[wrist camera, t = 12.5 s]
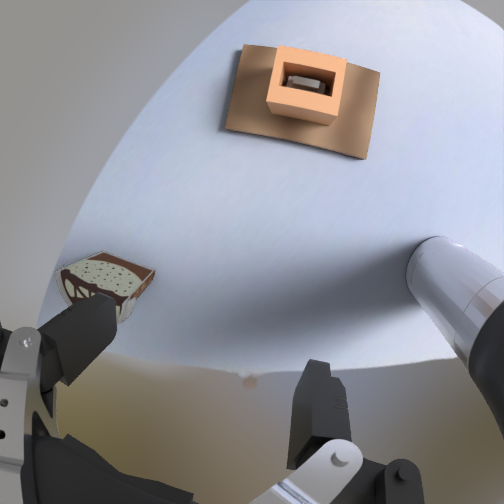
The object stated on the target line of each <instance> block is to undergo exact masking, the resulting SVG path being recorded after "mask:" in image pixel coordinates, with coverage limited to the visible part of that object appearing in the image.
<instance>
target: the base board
mask: <svg viewBox="0 0 504 504" xmlns="http://www.w3.org/2000/svg"><path fill="white" fill-rule="evenodd" d="M276 52H277V48H273V47H265V46H256V45H245V44H244V45H243V49H242V53H241V57H240V62H239V66H238V70H237V74H236V79H235V83H234V87H233V92H232V96H231V101H230V105H229V110H228V115H227V120H226V125H225V129H227V130H231V131H238V132H244V133H251V134H256V135H262V136H268V137H273V138H278V139H283V140H288V141H292V142H297V143H302V144H306V145H310V146H314V147H319V148H323V149H327V150H330V151H334V152H338V153H342V154H345V155H349V156H352V157H356V158H359V159H363V160H364V159H366V157H367V152H368V147H369V142H370V137H371V131H372V126H373V120H374V114H375V107H376V101H377V94H378V86H379V79H380V73H379V72H377V71H374V70H370V69H367V68H364V67H361V66H358V65H354V64H351V63H347V62H346V69H345V75H344V81H343V88H342V94H341V99H340V105H339V111H338V116H337V117H336V119H335V120H334V121H333V122H332V124H331V125H330V126H327V125H323V124H319V123H315V122H311V121H306V120H302V119H297V118H292V117H287V116H282V115H277V114H272V113H271V111H270V108H269V106H268V104H267V102H266V99H267V95H268V90H269V85H270V80H271V76H272V71H273V66H274V62H275V57H276ZM285 87H289V88H294V89H299V90H304V91H309V92H313V93H318V94H322V95H326V96H328V91H329V89H325V83H322V82H320V81H318V80H313V79H308V78H304V77H299V76H294V77H293V76H289V78H288V81H286V83H285Z"/></svg>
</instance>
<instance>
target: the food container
mask: <svg viewBox="0 0 504 504" xmlns="http://www.w3.org/2000/svg"><path fill="white" fill-rule="evenodd" d="M55 273H56V280H57V284H58V287H59V290H60V292H61V295H62V297H63V299H64V300H65V302H66V304H67V305H68V307H69V306H71V305H72V304H74V303H75V302H78V301H81V300H84V299H88V298H90V297H91V296H93V295H94V294H96V293H97V292H100V293H103V294H105V295H108V296H110V297H112V298H114V299H115V301H116V320H117V324H119V323H121V322H123V321H125V320H126V319H127V318H128V317H129V316H130V315H131V313H132V311H133V309H134V305H135V300H136V299H137V298H138V297H139V296H140V295H141V293H142V292H143V291H144V290H145V289H146V288H147V286H148V285H149V284H150V283H151V281H152V280H153V277H154V274H155V270H154V269H152V268H149V267H146V266H143V265H141V264H138V263H135V262H132V261H130V260H127V259H124V258H122V257H119V256H116V255H114V254H111V253H109V252H106V251H102V252H99V253H97V254H95V255H92V256H90V257H87V258H85V259H82V260H80V261H78V262H75V263H73V264H71V265H68V266H66V267H64V265H62V266H61V267H59V268H58V269H57V271H55Z"/></svg>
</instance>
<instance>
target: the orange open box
mask: <svg viewBox="0 0 504 504" xmlns="http://www.w3.org/2000/svg"><path fill="white" fill-rule="evenodd" d="M346 62H347V60H346V59H343V58H339V57H335V56H331V55H326V54H322V53H318V52H313V51H308V50H302V49H297V48H291V47H285V46H278V48H277V52H276V57H275V62H274V66H273V71H272V76H271V80H270V85H269V90H268V95H267V99H266V102H267V104H268V106H269V108H270V111H271V113H272V114H277V115H282V116H287V117H292V118H297V119H302V120H306V121H311V122H315V123H319V124H323V125H327V126H330V125H331V124H332V122H333V121H334V120H335V119H336V117H337V116H338V111H339V105H340V99H341V94H342V88H343V81H344V75H345V69H346ZM289 76H293V77H294V76H299V77H304V78H308V79H313V80H318V81H320V82H322V83H325V89H329V91H328V96H326V95H322V94H318V93H313V92H309V91H304V90H299V89H294V88H289V87H285V83H286V81H288V78H289Z"/></svg>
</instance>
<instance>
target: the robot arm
mask: <svg viewBox="0 0 504 504" xmlns="http://www.w3.org/2000/svg"><path fill="white" fill-rule="evenodd" d="M406 280H407V285H408V288H409V290H410V292H411V293H412V295H413V296H414V297H415V298H416V300H417V301H418V302H419V304H420V305H421V306H422V308H423V309H424V310H425V312H426V313H427V314H428V316H429V317H430V318H431V320H432V321H433V322H434V324H435V325H436V326H437V328H438V329H439V330H440V332H441V333H442V335H443V336H444V337H445V339H446V340H447V342H448V343H449V344H450V346H451V347H452V349H453V350H454V352H455V353H456V355H457V356H458V357H459V359H460V360H461V362H462V363H463V365H464V366H465V368H466V370H467V371H468V373H469V374H470V376H471V378H472V379H473V381H474V382H475V384H476V386H477V387H478V389H479V390H480V392H481V394H482V395H483V397H484V399H485V400H486V402H487V404H488V406H489V408H490V409H491V411H492V413H493V415H494V417H495V420H496V422H497V424H498V426H499V428H500V431H501V433H502V436H503V438H504V272H502V271H501V270H499V269H498V268H496V267H495V266H493V265H492V264H490V263H488V262H487V261H485V260H484V259H482V258H481V257H479V256H477V255H476V254H474V253H472V252H471V251H469V250H467V249H466V248H464V247H463V246H461V245H459V244H457V243H456V242H454V241H452V240H450V239H448V238H446V237H439V236H438V237H433V238H430V239H428V240H426V241H424V242H423V243H422V244H420V245H419V247H418V248H417V249H416V250H415V251H414V253H413V254H412V256H411V258H410V260H409V263H408V266H407V271H406ZM116 332H117V320H116V301H115V299H114V298H112V297H110V296H108V295H105V294H103V293H100V292H97V293H96V294H94V295H93V296H91V297H90V298H88V299H84V300H81V301H78V302H75V303H74V304H72V305H71V306H69V307H68V308H67V309H65V310H64V311H62V312H61V314H58V315H56V316H55V317H54V318H52V319H51V320H50V321H48V322H47V323H45V324H44V325H43V326H41V327H40V328H39V329H37V330H36V329H34V328H32V327H22V328H19V329H17V330H15V331H14V332H12V331H9V330H6V329H3V328H2V326H1V323H0V504H198V503H197V502H195V501H193V495H194V494H193V493H190V492H186V491H183V490H181V489H178V488H175V487H172V486H169V485H167V484H164V483H162V482H159V481H154V480H149V479H143V478H139V477H135V476H130V475H126V474H123V473H121V472H119V471H117V470H116V469H115V468H114V467H113V466H112V465H110V464H109V463H108V462H107V461H106V460H104V459H103V458H102V457H101V456H100V455H99V454H98V453H97V452H96V451H95V450H93V449H91V448H90V447H88V446H86V445H85V444H83V443H81V442H80V441H78V440H77V439H75V438H73V437H72V436H71V435H69V434H67V435H66V437H65V438H64V439H61V438H60V434H59V431H58V428H57V414H56V412H57V409H56V399H57V397H56V396H57V395H56V394H57V388H56V383H57V382H58V381H61V382H62V383H64V384H65V385H67V386H69V385H70V384H71V383H72V382H73V381H74V380H75V379H76V378H77V377H78V376H79V375H80V374H81V373H82V372H83V370H85V369H86V367H87V366H88V365H89V364H90V363H91V362H92V361H93V360H94V359H95V358H96V357H97V356H98V355H99V354H100V353H101V352H102V351H103V350H104V349H105V348H106V347H107V346H108V345H109V344H110V343H111V342H112V341H113V340H114V338H115V335H116ZM347 408H348V406H347V401H346V391H345V387H344V386H343V384H342V383H341V381H340V379H339V378H336V377H331V373H330V364H329V363H327V362H322V361H317V360H312V359H310V360H309V361H308V363H307V365H306V367H305V369H304V372H303V374H302V376H301V379H300V380H299V383H298V385H297V387H296V389H295V393H294V397H293V404H292V417H291V429H290V441H289V450H288V460H287V469H290V470H296V471H294V472H293V473H292V474H291V475H290V476H288V477H287V478H286V479H285V480H283V481H282V482H279V483H277V484H276V485H274V486H273V487H271V488H270V489H269V490H267V491H266V492H264V493H263V494H262V495H260V496H259V497H257V498H256V499H255V500H253V501H252V502H250V503H249V504H425V503H424V496H423V488H422V481H421V475H420V471H419V469H418V468H417V466H416V465H415V464H414V463H412V462H411V461H409V460H406V459H397V460H394V461H392V462H390V463H389V464H388V465H383V464H380V463H376V462H373V461H370V460H367V459H365V458H363V456H362V453H361V451H360V450H359V448H358V447H357V446H356V445H354V444H353V443H352V440H351V431H350V422H349V413H348V409H347Z"/></svg>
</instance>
